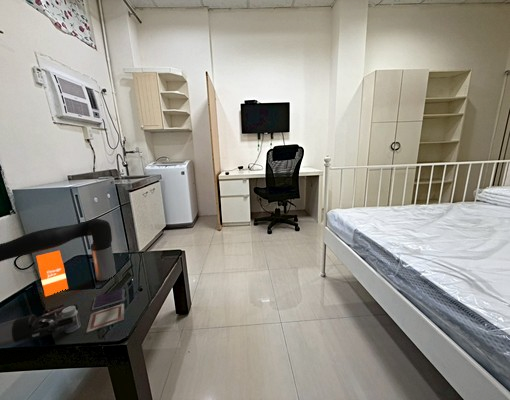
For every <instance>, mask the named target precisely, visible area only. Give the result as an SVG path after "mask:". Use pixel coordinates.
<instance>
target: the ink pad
mask: <svg viewBox="0 0 510 400" xmlns="http://www.w3.org/2000/svg"><path fill="white" fill-rule="evenodd" d="M124 301H125V288H119V289H117V290H112V291H109V292H106V293H103V294H98V295H96V296H94V299H93V302H92V307H91V311H95V310H99V309H102V308H105V307H107V306H111V305H115V304H118V303H121V302H124Z"/></svg>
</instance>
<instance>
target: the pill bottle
mask: <svg viewBox="0 0 510 400" xmlns="http://www.w3.org/2000/svg"><path fill="white" fill-rule="evenodd" d="M68 306H69V307H68ZM68 306H65V307H66V308H65V309H63V310H62V315H61V320H62V319H65V318H69V317H73V323H71V324H68V325H65V326H63V329H64V330H63V331H64V332H65V333H67V334H68V333H70V334H71V333H73V332H75V331H77V330H78V329H79V328H80V327H81V320H80V315H79V312H78V309H77V310H76V307H75V306H72V305H68Z"/></svg>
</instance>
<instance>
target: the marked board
mask: <svg viewBox="0 0 510 400" xmlns="http://www.w3.org/2000/svg"><path fill="white" fill-rule="evenodd" d="M124 321H125V303H121V304H118V305H114V306H112V307H108V308H105V309H101V310H99V311H95V312H92V313H90V315H89V321H88V323H87V328H86V332H85V333H86V334H87V333H91V332H93V331H97V330H100V329H103V328H106V327H108V326H112V325H114V324H117V323H120V322H124Z"/></svg>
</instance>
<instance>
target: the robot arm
mask: <svg viewBox="0 0 510 400" xmlns="http://www.w3.org/2000/svg"><path fill="white" fill-rule="evenodd" d="M112 235H113V234H112V228H111V225H110V223H109V221H108V220H106V219H99V218H92V219H88V220H86V221H81V222H79V223H75V224H70V225H63V226H56V227H51V228H44V229H42V230H35V231H33V232H29V233H27V234H24V235H22V236H20V237H17V238H15V239H11V240H10V241H6V242H1V243H0V263H1V262H3V261H7V260H10V259H14V258H19V257H22V256H27V255H31V254H34V253H38V252H42V251H47V250H50V249H54V248H57V247H60V246H62V245H65V244H67V243H69V242H71V241H72V240H76V239H78V238H83V237H89V236H90V237H92V239H91V240H92V243H91V244H90V251H91V255H92V262H93V266H94V271H95V278H96V280H97V281H98V280H99V281H100V282H102V281H107V280H110V279H112V278H114V277H115V276H116V275H117V271H116V263H115V259H114V251H113V247H112V246H113V245H112V242H113V236H112ZM115 274H116V275H115ZM114 275H115V276H114ZM113 276H114V277H113ZM111 277H112V278H111ZM109 278H110V279H109ZM69 306H70V305H68V306H65V305H64V304H61V305H57V306H54V307H51V308H47V309H44V310H43V314H42V315H39V316H36V315H35V314H30V315H26V316H23V317H20V318H16V319H12V320H9V321H8V320H7V321H5V322H2V323H0V348H2V347H5V346H9V345H12V344H15V343H19V342H22V341H24V340H28V339H32V340H35V339H39V338H42V337H45V336H49V335H52V334H55V333H56V332H57V330H59V329H60V328H62V327H64V326H65V325H68V324H71V323H73V317H69V318H65V319H62V318H61V319H59V318H60V317H62V316H63V315H62V310H63V309H65V308H66V307H69ZM71 306H75V307H76V310H77V311H78V309H79V306H78V304H72V305H71ZM58 319H59V320H58Z"/></svg>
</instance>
